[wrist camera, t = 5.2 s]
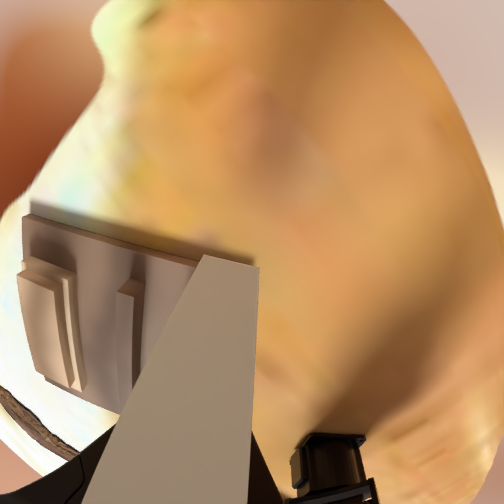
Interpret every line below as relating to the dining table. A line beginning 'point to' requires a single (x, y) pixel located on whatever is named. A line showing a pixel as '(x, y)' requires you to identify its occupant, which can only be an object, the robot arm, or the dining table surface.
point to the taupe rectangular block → (190, 400)
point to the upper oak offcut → (46, 326)
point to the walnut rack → (111, 302)
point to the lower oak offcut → (70, 311)
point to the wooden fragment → (34, 427)
